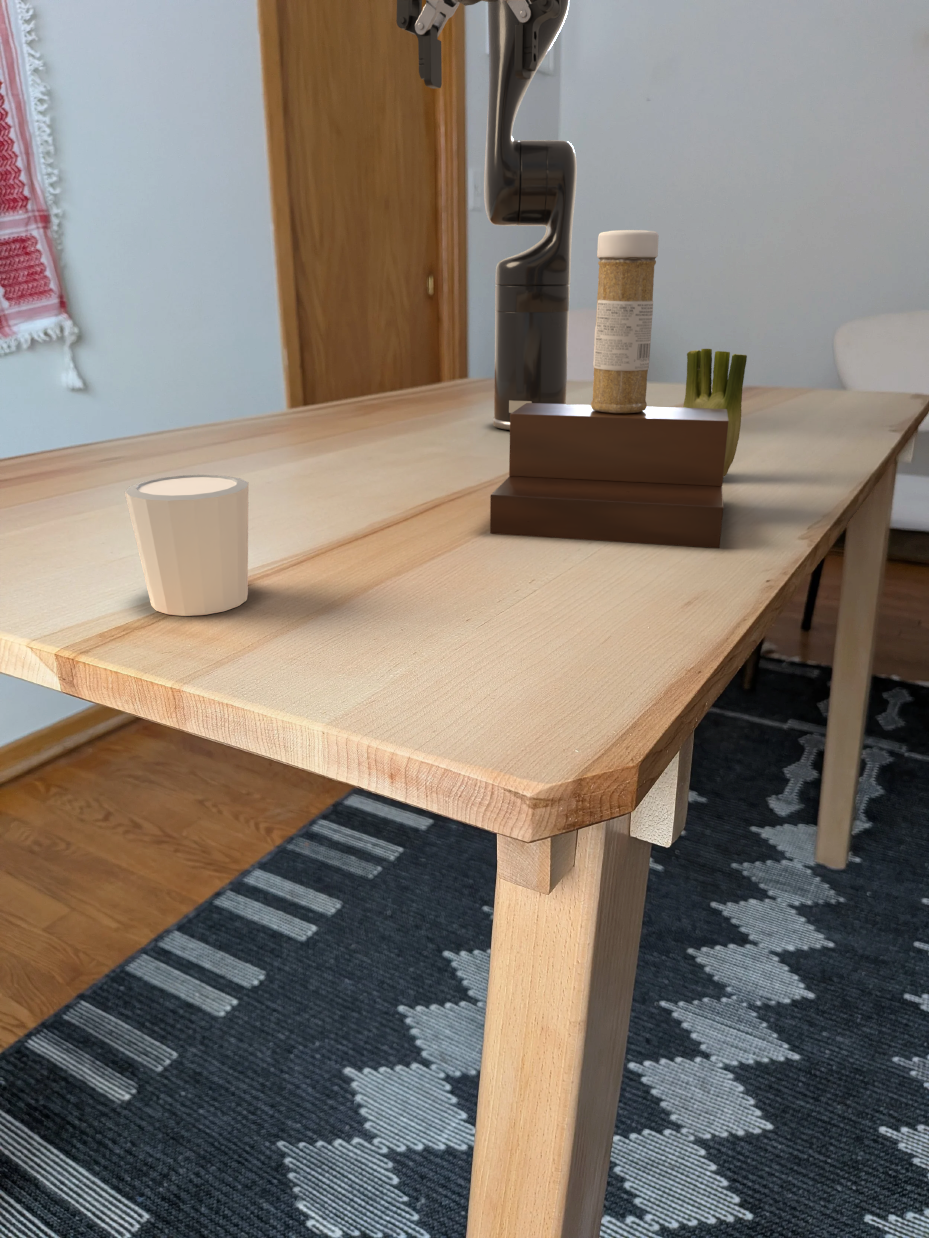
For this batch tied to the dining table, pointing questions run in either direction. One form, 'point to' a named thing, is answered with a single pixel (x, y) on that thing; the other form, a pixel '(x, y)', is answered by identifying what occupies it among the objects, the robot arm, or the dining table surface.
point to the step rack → (614, 475)
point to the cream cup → (192, 542)
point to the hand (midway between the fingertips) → (476, 82)
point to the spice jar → (623, 320)
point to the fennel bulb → (717, 390)
